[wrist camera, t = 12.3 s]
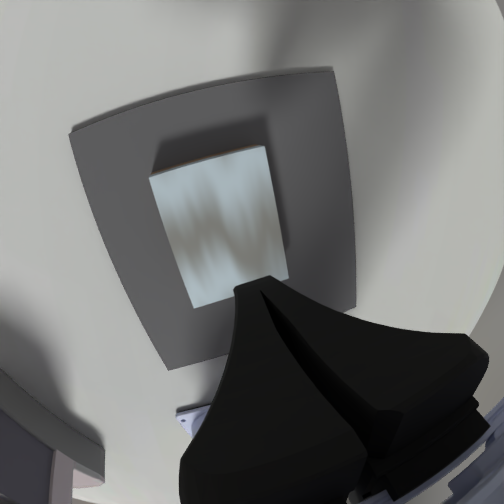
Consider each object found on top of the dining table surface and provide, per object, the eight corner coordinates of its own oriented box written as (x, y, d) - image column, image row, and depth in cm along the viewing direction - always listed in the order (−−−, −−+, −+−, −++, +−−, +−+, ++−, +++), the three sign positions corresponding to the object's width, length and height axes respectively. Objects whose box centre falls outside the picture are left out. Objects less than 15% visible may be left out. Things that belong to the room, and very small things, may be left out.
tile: (288, 278, 18) (194, 308, 17) (279, 265, 19) (191, 292, 19) (264, 146, 14) (148, 177, 13) (255, 144, 16) (151, 172, 15)
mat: (353, 304, 23) (356, 306, 23) (168, 367, 21) (168, 370, 21) (330, 72, 15) (333, 71, 15) (70, 134, 13) (68, 134, 13)
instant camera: (23, 464, 24) (17, 539, 11) (-72, 374, 14) (-105, 456, 1) (122, 459, 26) (132, 563, 13) (1, 346, 17) (-49, 490, 3)
